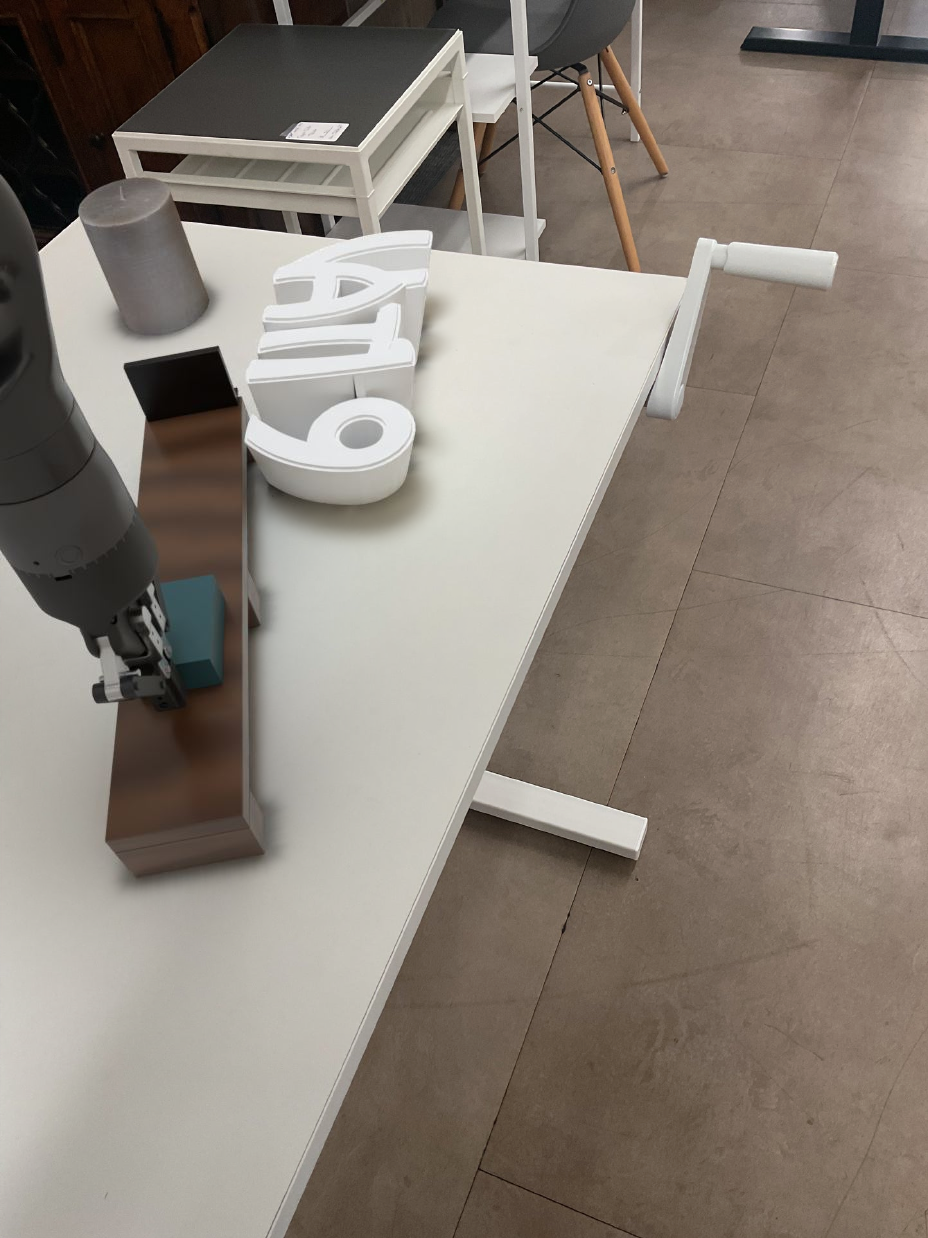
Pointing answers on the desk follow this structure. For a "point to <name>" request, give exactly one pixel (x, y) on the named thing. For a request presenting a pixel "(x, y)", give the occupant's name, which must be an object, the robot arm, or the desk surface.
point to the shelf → (214, 715)
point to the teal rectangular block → (196, 629)
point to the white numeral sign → (341, 369)
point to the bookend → (182, 383)
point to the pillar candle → (144, 255)
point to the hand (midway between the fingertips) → (173, 701)
